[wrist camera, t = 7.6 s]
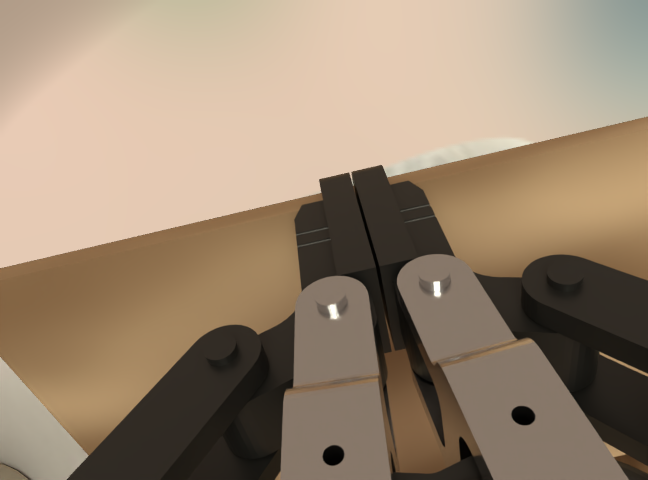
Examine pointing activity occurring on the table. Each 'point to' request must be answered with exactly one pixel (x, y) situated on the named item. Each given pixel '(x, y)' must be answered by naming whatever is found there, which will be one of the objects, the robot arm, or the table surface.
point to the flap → (284, 277)
